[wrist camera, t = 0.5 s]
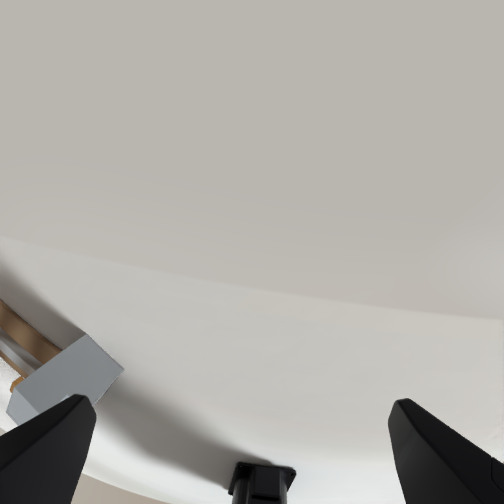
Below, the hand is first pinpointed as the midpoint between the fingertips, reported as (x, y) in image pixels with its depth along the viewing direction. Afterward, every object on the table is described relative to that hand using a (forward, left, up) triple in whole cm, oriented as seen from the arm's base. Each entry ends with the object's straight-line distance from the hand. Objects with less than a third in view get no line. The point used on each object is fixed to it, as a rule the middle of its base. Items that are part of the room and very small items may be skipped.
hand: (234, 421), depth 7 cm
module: (-12, +14, -17) cm, 25 cm away
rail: (-14, +28, -16) cm, 35 cm away
